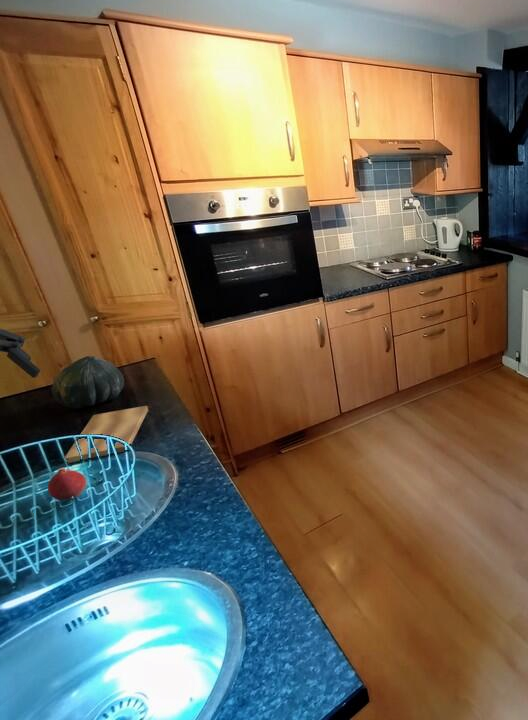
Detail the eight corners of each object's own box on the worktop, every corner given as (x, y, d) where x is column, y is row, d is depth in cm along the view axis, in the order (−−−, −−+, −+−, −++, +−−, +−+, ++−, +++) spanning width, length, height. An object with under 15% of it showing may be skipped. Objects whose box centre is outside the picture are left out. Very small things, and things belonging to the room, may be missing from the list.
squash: (37, 389, 127) (44, 360, 120) (98, 368, 140) (108, 340, 133) (71, 426, 127) (80, 399, 120) (129, 402, 141) (140, 375, 133)
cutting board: (66, 463, 108) (63, 458, 107) (95, 419, 124) (93, 414, 123) (128, 450, 112) (126, 445, 112) (148, 409, 129) (146, 405, 128)
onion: (65, 511, 94) (50, 481, 91) (49, 504, 96) (33, 474, 93) (97, 493, 99) (84, 464, 96) (81, 486, 101) (67, 457, 98)
